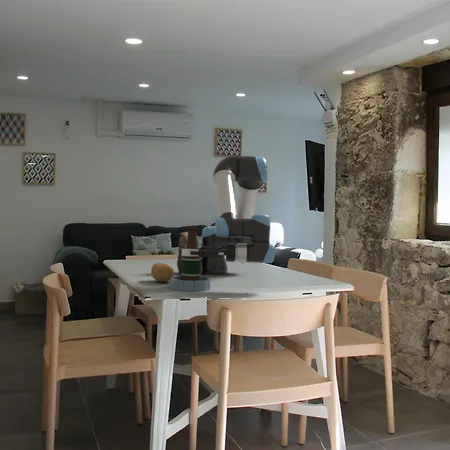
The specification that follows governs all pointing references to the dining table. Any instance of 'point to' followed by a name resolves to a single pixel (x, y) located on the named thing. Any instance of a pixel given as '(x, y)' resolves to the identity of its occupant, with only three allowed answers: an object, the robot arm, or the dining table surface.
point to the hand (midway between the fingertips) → (183, 250)
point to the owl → (182, 245)
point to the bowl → (190, 284)
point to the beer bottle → (191, 259)
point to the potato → (162, 272)
